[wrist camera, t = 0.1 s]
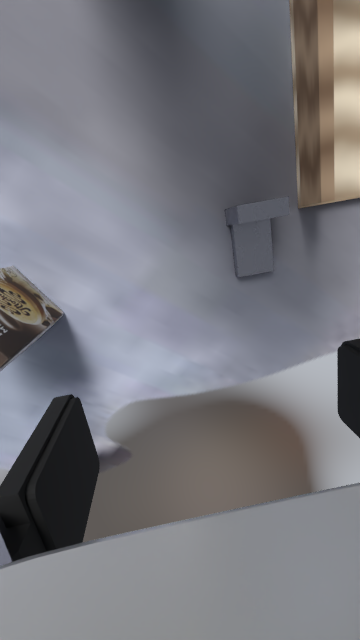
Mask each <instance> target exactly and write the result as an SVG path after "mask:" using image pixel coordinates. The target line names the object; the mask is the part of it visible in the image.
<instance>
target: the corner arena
mask: <svg viewBox="0 0 360 640" xmlns="http://www.w3.org/2000/svg"><path fill="white" fill-rule="evenodd" d="M289 4H290V27H291V50H292V74H293V97H294V121H295V144H296V168H297V191H298V209H299V208H305V207H310V206H316V205H321V204H327V203H332V202H338V201H344V200H349V199H355V198H360V0H289Z"/></svg>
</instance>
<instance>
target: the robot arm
mask: <svg viewBox="0 0 360 640" xmlns="http://www.w3.org/2000/svg"><path fill="white" fill-rule="evenodd" d="M338 414H339V416H340V418H341V420H342V421H343V422H344V423H345V424H346V425H347V426H348V427H349V428H350V429H351V430H352V431H353V432H354V433H355V434H356V435H357V436H358V437H359V438H360V339H355V340H350V341H345V342H343V343H342V345H341V346H340V347H339V348H338ZM98 473H99V458H98V455H97V452H96V449H95V445H94V442H93V439H92V436H91V433H90V429H89V426H88V423H87V420H86V417H85V413H84V410H83V407H82V404H81V401H80V399H79V398H78V397H77V398H75V397H74V396H73V395H72V394H71V395H66V396H61V397H56V398H54V399H53V401H52V402H51V404H50V405H49V407H48V409H47V410H46V412H45V414H44V415H43V417H42V419H41V420H40V422H39V423H38V425H37V427H36V428H35V430H34V432H33V433H32V435H31V437H30V438H29V440H28V441H27V443H26V445H25V446H24V448H23V450H22V451H21V453H20V455H19V456H18V458H17V459H16V461H15V463H14V464H13V466H12V468H11V469H10V471H9V473H8V474H7V476H6V477H5V479H4V481H3V482H2V484H1V486H0V640H360V483H356V484H351V485H346V486H341V487H337V488H332V489H327V490H323V491H319V492H313V493H308V494H304V495H299V496H294V497H289V498H285V499H280V500H275V501H270V502H266V503H261V504H256V505H252V506H247V507H242V508H237V509H233V510H228V511H223V512H219V513H214V514H210V515H205V516H201V517H196V518H191V519H187V520H182V521H178V522H173V523H168V524H164V525H159V526H155V527H151V528H146V529H142V530H137V531H132V532H127V533H123V534H118V535H114V536H109V537H105V538H101V539H96V540H91V541H87V542H83V537H84V533H85V528H86V524H87V520H88V516H89V511H90V507H91V503H92V499H93V494H94V490H95V486H96V481H97V477H98ZM82 542H83V543H82Z"/></svg>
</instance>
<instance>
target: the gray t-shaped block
mask: <svg viewBox="0 0 360 640" xmlns="http://www.w3.org/2000/svg"><path fill="white" fill-rule="evenodd" d="M286 215H289V196H288V197H282V198H277V199H271V200H265V201H260V202H254V203H249V204H243V205H237V206H234V207H231V208H228V209H225V217H226V225H230V229H231V238H232V247H233V256H234V265H235V274H236V276H237V277H244V276H249V275H254V274H260V273H265V272H271V271H274V264H273V249H272V235H271V221H270V218H275V217H281V216H286Z"/></svg>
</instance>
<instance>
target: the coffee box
mask: <svg viewBox="0 0 360 640" xmlns="http://www.w3.org/2000/svg"><path fill="white" fill-rule="evenodd" d="M63 314H64V313H63V311H61V310H60V309H59V308H58V307H57V306H56V305H55V304H54V303H53V302H52V301H51V300H50V299H48V298H47V297H46V296H45V295H44V294H43V293H42V292H41V291H40V290H39V289H38V288H37V287H35V286H34V285H33V284H32V283H31V282H30V281H29V280H28V279H27V278H26V277H25V276H24V275H22V274H21V273H20V272H19V271H18V270H17V269H16V268H15V267H14V266H10V267H6V268H2V269H0V371H1V370H3V369H4V368H5V367H6V366H7V365H8V364H10V363H11V362H12V361H13V360H14V359H15V358H17V357H18V356H19V355H20V354H21V353H22V352H24V351H25V350H26V349H27V348H28V347H29V346H31V345H32V344H33V343H34V342H35V341H36V340H38V339H39V338H40V337H41V336H42V335H43V334H44V333H45V332H46V331H47V330H48V329H49V328H50V327H52V326H53V325H54V324H55V323H56V322H57V321H58V320H59V319H60V318H61V317H62V316H63Z"/></svg>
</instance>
